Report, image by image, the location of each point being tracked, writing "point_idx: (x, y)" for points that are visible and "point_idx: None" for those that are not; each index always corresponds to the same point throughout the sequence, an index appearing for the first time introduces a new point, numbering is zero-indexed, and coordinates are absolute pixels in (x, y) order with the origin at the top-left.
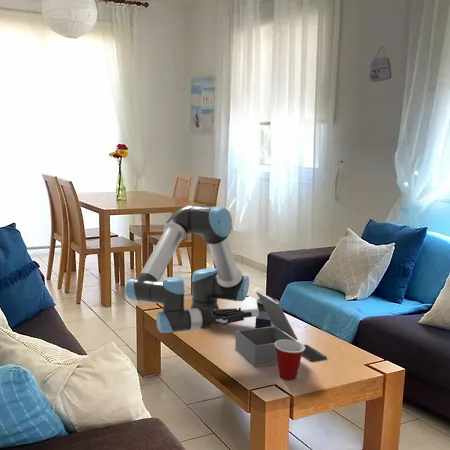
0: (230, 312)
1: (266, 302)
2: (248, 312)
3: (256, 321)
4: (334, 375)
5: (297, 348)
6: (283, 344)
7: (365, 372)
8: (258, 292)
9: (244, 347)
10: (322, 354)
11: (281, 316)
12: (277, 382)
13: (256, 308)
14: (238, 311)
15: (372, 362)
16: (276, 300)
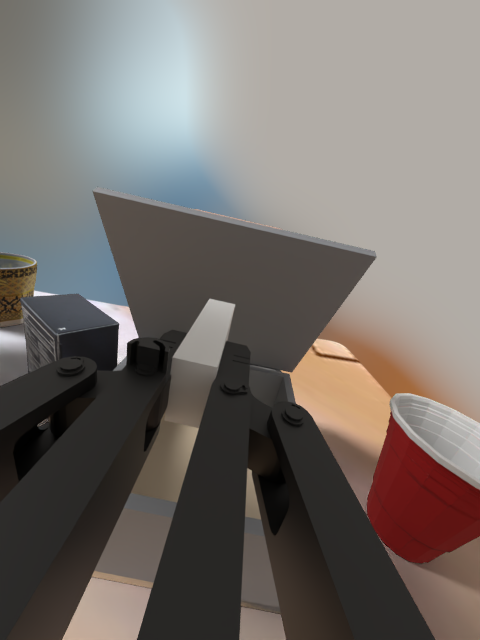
0: (80, 528)
1: (191, 256)
2: (231, 354)
3: (62, 346)
4: (370, 413)
5: (404, 416)
6: (400, 436)
7: (352, 372)
8: (125, 196)
9: (154, 553)
10: (264, 366)
11: (298, 313)
12: (471, 618)
13: (209, 300)
14: (157, 393)
15: (311, 346)
16: (19, 256)
